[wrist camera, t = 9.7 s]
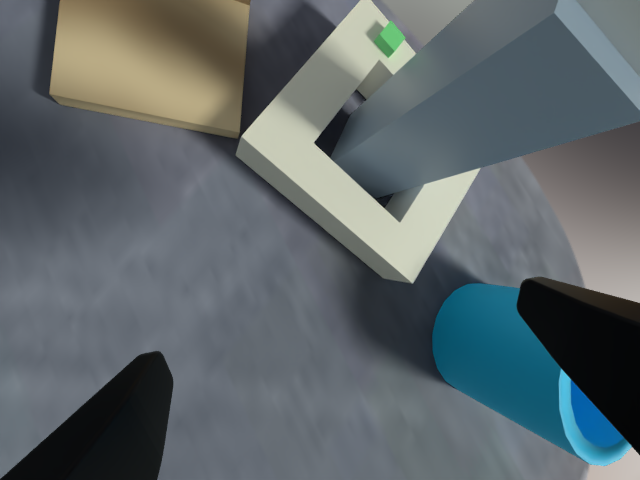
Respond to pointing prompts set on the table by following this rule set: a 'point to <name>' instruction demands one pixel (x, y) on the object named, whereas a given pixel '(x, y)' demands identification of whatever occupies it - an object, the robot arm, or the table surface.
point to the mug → (517, 373)
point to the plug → (497, 91)
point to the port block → (325, 175)
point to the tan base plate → (154, 60)
